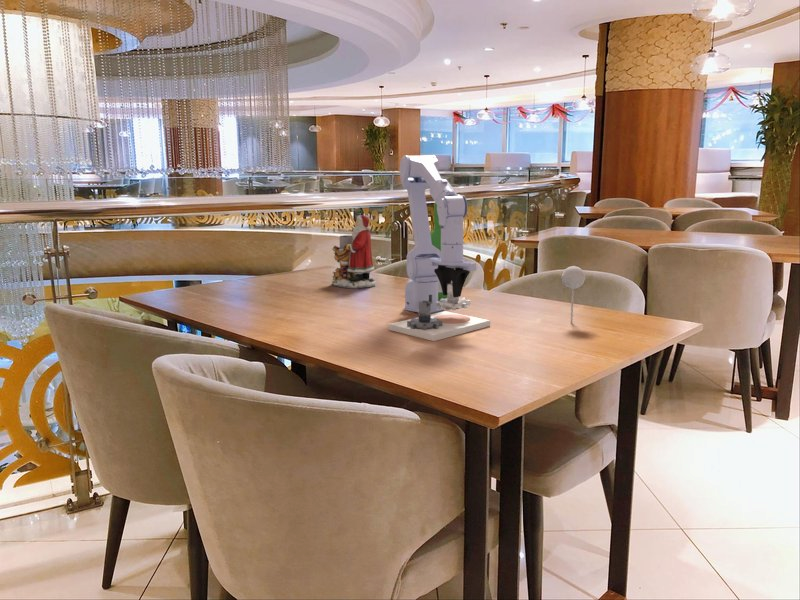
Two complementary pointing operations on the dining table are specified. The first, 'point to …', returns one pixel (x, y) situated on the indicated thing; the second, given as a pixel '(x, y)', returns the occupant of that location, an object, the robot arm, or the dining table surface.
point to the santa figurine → (354, 257)
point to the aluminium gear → (452, 300)
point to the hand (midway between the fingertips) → (451, 295)
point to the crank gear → (425, 317)
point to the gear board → (443, 326)
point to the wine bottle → (437, 245)
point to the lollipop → (573, 280)
